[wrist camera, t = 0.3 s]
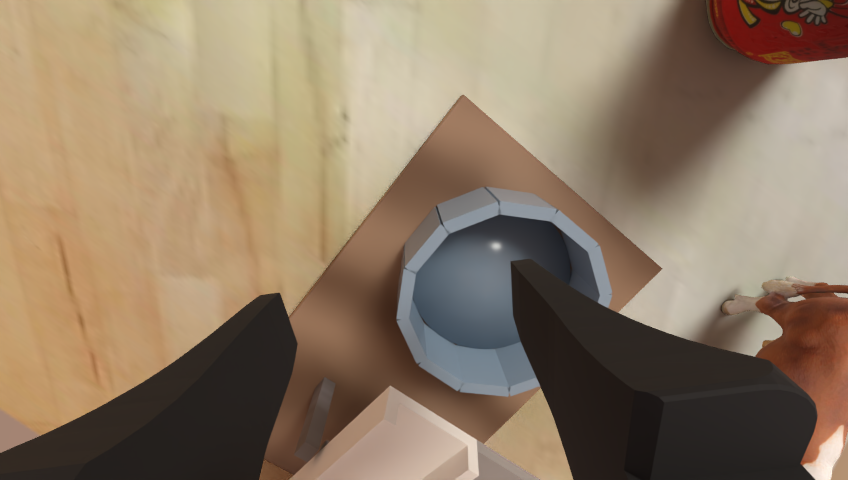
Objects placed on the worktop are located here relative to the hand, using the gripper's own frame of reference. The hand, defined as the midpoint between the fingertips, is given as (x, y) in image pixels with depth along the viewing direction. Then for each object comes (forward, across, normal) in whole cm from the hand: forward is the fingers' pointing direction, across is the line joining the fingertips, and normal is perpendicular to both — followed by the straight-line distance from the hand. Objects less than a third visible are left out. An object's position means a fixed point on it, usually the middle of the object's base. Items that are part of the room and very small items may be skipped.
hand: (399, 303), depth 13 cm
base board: (+9, 0, +10) cm, 13 cm away
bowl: (+10, -4, +6) cm, 12 cm away
